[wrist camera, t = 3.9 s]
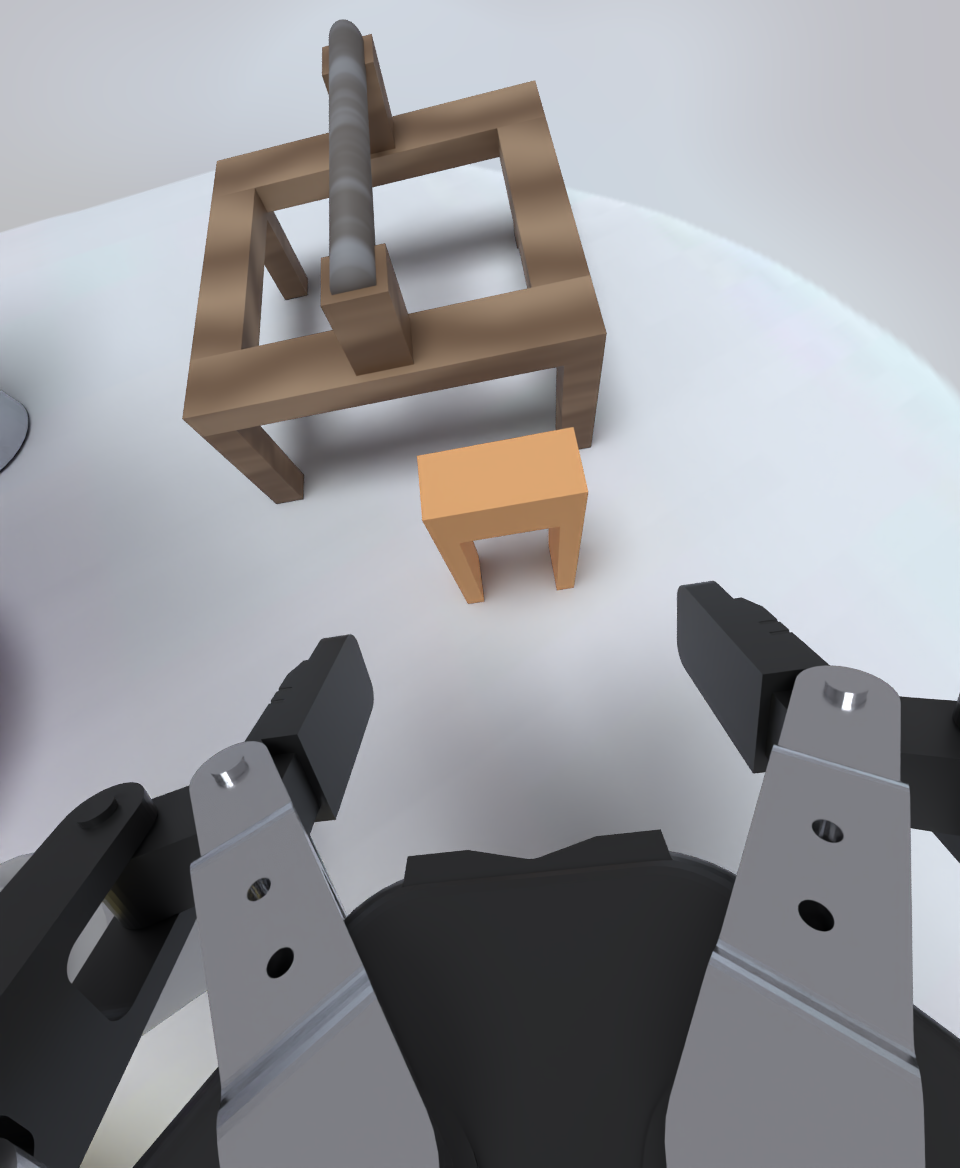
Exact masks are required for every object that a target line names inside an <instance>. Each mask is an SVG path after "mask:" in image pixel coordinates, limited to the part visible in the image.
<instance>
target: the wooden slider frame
mask: <svg viewBox="0 0 960 1168" xmlns="http://www.w3.org/2000/svg"><path fill="white" fill-rule="evenodd" d="M322 77H323V80H324V83H325V85H326V88H327V91H328V94H329V133H326V134H322V135H318V136H314V137H310V138H306V139H302V140H298V141H294V142H290V143H286V144H282V145H279V146H274V147H271V148H267V149H263V150H259V151H255V152H251V153H247V154H243V155H239V156H235V157H231V158H227V159H223V160H219V161H217V164H216V172H215V179H214V187H213V194H212V202H211V209H210V217H209V224H208V232H207V239H206V246H205V254H204V261H203V269H202V276H201V284H200V291H199V299H198V306H197V313H196V321H195V328H194V336H193V343H192V351H191V358H190V366H189V373H188V380H187V388H186V395H185V403H184V410H183V418H182V419H183V420H184V421H185V422H186V423H187V424H189V425H190V426H191V427H192V428H193V429H194V430H195V431H196V432H197V433H198V434H200V435H201V436H202V437H203V438H204V439H205V440H206V441H207V442H208V443H209V444H211V445H212V446H213V447H214V448H215V449H216V450H217V451H218V452H219V453H221V454H222V455H223V456H224V457H225V458H226V459H227V460H228V461H229V462H230V463H232V464H233V465H234V466H235V467H236V468H237V469H238V470H239V471H240V472H242V473H243V474H244V475H245V476H246V477H247V478H248V479H249V480H250V481H251V482H253V483H254V484H255V485H256V486H257V487H258V488H259V489H260V490H261V491H263V492H264V493H265V494H266V495H267V496H268V497H269V498H270V499H271V500H272V501H274V502H275V503H276V504H278V503H284V502H290V501H295V500H301V499H303V487H304V474H303V473H302V472H301V471H300V470H299V469H298V468H297V467H296V465H295V464H294V463H293V462H292V461H291V460H290V459H289V458H288V456H287V455H286V454H285V453H284V452H283V451H282V450H281V449H280V447H279V446H278V445H277V444H276V443H275V442H274V441H273V440H272V438H271V437H270V436H269V435H268V434H267V433H266V432H265V431H264V429H263V428H262V427H261V426H260V425H265V424H270V423H275V422H280V421H285V420H291V419H296V418H301V417H306V416H311V415H316V414H321V413H326V412H331V411H336V410H341V409H346V408H351V407H356V406H362V405H367V404H372V403H377V402H382V401H387V400H392V399H397V398H402V397H407V396H412V395H417V394H422V393H427V392H432V391H438V390H443V389H448V388H453V387H458V386H463V385H468V384H473V383H478V382H483V381H488V380H493V379H498V378H503V377H509V376H514V375H519V374H524V373H529V372H534V371H539V370H544V369H549V368H554V367H557V375H556V424H555V428H556V430H560V429H565V428H571V427H574V432H575V436H576V440H577V445H578V449H583V448H588V447H591V442H592V435H593V428H594V421H595V413H596V406H597V399H598V392H599V384H600V377H601V370H602V363H603V356H604V348H605V341H606V334H607V333H606V329H605V326H604V322H603V319H602V315H601V312H600V308H599V305H598V301H597V298H596V294H595V291H594V287H593V283H592V280H591V276H590V273H589V269H588V266H587V262H586V259H585V255H584V252H583V248H582V245H581V241H580V237H579V234H578V230H577V227H576V223H575V220H574V216H573V213H572V209H571V206H570V202H569V199H568V195H567V192H566V188H565V184H564V181H563V177H562V174H561V170H560V167H559V163H558V160H557V156H556V153H555V149H554V146H553V142H552V138H551V135H550V132H549V128H548V124H547V121H546V118H545V114H544V110H543V107H542V103H541V100H540V96H539V92H538V89H537V85H536V82H535V81H531V82H527V83H523V84H519V85H515V86H511V87H507V88H503V89H499V90H496V91H491V92H487V93H483V94H480V95H476V96H471V97H468V98H464V99H460V100H456V101H452V102H448V103H444V104H440V105H436V106H432V107H428V108H424V109H420V110H416V111H412V112H408V113H404V114H400V115H397V116H393V117H392V114H391V111H390V106H389V102H388V98H387V94H386V90H385V86H384V82H383V78H382V74H381V70H380V66H379V62H378V58H377V54H376V50H375V46H374V42H373V37H372V34H370V35H366V36H362V35H361V33H360V31H359V30H358V28H357V27H356V26H355V25H354V24H353V23H352V22H350V21H348V20H338V21H336V22H335V23H334V24H333V25H332V27H331V29H330V33H329V46H325V47H323V48H322ZM496 157H500V161H501V166H502V171H503V176H504V180H505V185H506V190H507V195H508V199H509V204H510V209H511V213H512V218H513V223H514V234H515V239H516V244H517V248H519V251H520V256H521V260H522V265H523V270H524V275H525V279H526V284H527V289H523V290H518V291H514V292H509V293H504V294H500V295H495V296H490V297H485V298H481V299H476V300H471V301H467V302H462V303H457V304H453V305H448V306H443V307H439V308H434V309H429V310H425V311H420V312H415V313H411V314H408V312H407V309H406V306H405V303H404V300H403V297H402V294H401V291H400V288H399V284H398V281H397V278H396V275H395V272H394V269H393V266H392V263H391V260H390V257H389V253H388V250H387V247H386V244H385V243H384V244H380V245H376V246H375V230H374V211H373V193H372V187H376V186H380V185H384V184H388V183H393V182H397V181H401V180H405V179H409V178H413V177H418V176H422V175H426V174H430V173H434V172H438V171H443V170H447V169H451V168H455V167H459V166H463V165H467V164H472V163H476V162H480V161H484V160H488V159H492V158H496ZM326 198H329V256H327V257H323V258H321V308H322V310H323V312H324V314H325V315H326V317H327V319H328V321H329V323H330V325H331V327H332V329H333V330H331V331H326V332H322V333H317V334H312V335H308V336H303V337H298V338H294V339H289V340H284V341H279V342H275V343H270V344H265V345H261V346H259V335H260V320H261V305H262V291H263V276H264V265H265V266H266V268H267V270H268V272H269V273H270V275H271V277H272V278H273V280H274V282H275V283H276V285H277V287H278V289H279V290H280V292H281V294H282V295H283V297H284V299H285V300H287V299H291V298H296V297H300V296H305V295H307V290H308V278H307V276H306V274H305V272H304V270H303V268H302V266H301V264H300V262H299V260H298V258H297V256H296V254H295V253H294V251H293V249H292V247H291V245H290V243H289V241H288V239H287V237H286V235H285V233H284V231H283V229H282V227H281V225H280V223H279V221H278V219H277V217H276V215H275V213H274V211H276V210H280V209H284V208H289V207H293V206H297V205H301V204H305V203H309V202H314V201H318V200H322V199H326Z"/></svg>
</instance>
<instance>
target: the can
mask: <svg viewBox="0 0 960 1168" xmlns="http://www.w3.org/2000/svg"><path fill="white" fill-rule="evenodd" d="M33 854H34V853H31V854H26V855H21V856H18V857H15V858H13V859H11V860H8V861H6V862H4V863H1V864H0V892H1V890H2V889H3V888H4V887H5V886H6V885H7V884H8V882H9V881H10V880H11V879H12V878H13V877H14V876H15V874H16V873H17V872H18V871H19V870H20V869H21V868H22V866H23V865H24V864H25V863H26V862H27V861H28V860H29V858H30V857H31V856H32V855H33ZM113 917H114V915H113V914H112V912H111V911H110V910H109V909H108V908H107V906H106V905H105V904H104V903H103V902H102V903H101V904H100V906H99V907H98V909H97V910H96V912H95V913H94V915H93V916H92V918H91V919H90V921H89V922H88V924H87V925H86V927H85V928H84V930H83V931H82V933H81V934H80V936H79V937H78V939H77V940H76V942H75V944H74V945H73V948H72V950H71V952H70V955H69V959H68V964H67V975H68V979H69V981H70V982H71V984H72V982H73V981H74V979H75V978H76V976H77V974H78V973H79V971H80V970H81V968H82V966H83V965H84V963H85V962H86V960H87V958H88V957H89V955H90V954H91V952H92V950H93V949H94V947H95V946H96V944H97V942H98V941H99V939H100V938H101V936H102V934H103V933H104V931H105V930H106V928H107V926H108V925H109V923H110V922H111V920H112V918H113ZM205 991H207V984H206V977H205V970H204V963H203V956H202V949H201V943H200V936H199V929H198V922H197V919H196V921H195V923H194V925H193V928H192V930H191V932H190V934H189V936H188V938H187V940H186V942H185V945H184V947H183V949H182V951H181V953H180V955H179V957H178V959H177V961H176V964H175V966H174V968H173V970H172V972H171V974H170V976H169V978H168V980H167V983H166V985H165V987H164V989H163V991H162V993H161V995H160V997H159V1000H158V1002H157V1004H156V1006H155V1008H154V1010H153V1012H152V1014H151V1016H150V1019H149V1021H148V1023H147V1025H146V1027H145V1029H144V1031H143V1033H142V1036H143V1035H144V1034H145V1033H147V1032H148V1031H150V1030H151V1029H153V1028H154V1027H155V1026H157V1025H158V1024H160V1023H161V1022H163V1021H164V1020H165V1019H167V1018H168V1017H170V1016H171V1015H173V1014H174V1013H175V1012H177V1011H178V1010H180V1009H181V1008H183V1007H184V1006H185V1005H187V1004H188V1003H190V1002H191V1001H193V1000H194V999H195V998H197V997H198V996H200V995H201V994H203V993H204V992H205Z"/></svg>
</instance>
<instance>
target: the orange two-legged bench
mask: <svg viewBox="0 0 960 1168" xmlns="http://www.w3.org/2000/svg"><path fill="white" fill-rule="evenodd" d="M417 461H418V474H419V486H420V498H421V511H422V521H423V523H424V524H425V526H426V528H427V530H428V532H429V534H430V535H431V537H432V539H433V541H434V543H435V544H436V546H437V548H438V550H439V552H440V554H441V555H442V557H443V559H444V561H445V563H446V565H447V566H448V568H449V570H450V572H451V574H452V575H453V577H454V579H455V581H456V583H457V585H458V586H459V588H460V590H461V592H462V594H463V595H464V597H465V599H466V601H467V603H468V604H471V603H477V602H483V601H484V595H483V587H482V579H481V571H480V563H479V556H478V553H477V550H476V547H475V545H474V542H473V541H475V540H481V539H487V538H493V537H499V536H505V535H511V534H517V533H523V532H529V531H535V530H541V529H547V528H549V550H550V556H551V561H552V566H553V572H554V577H555V583H556V588H557V590H561V589H568V588H574V582H575V575H576V569H577V562H578V556H579V549H580V543H581V536H582V530H583V523H584V516H585V510H586V503H587V497H588V489H587V484H586V480H585V475H584V471H583V467H582V462H581V458H580V454H579V449H578V445H577V440H576V436H575V432H574V427H571V428H565V429H560V430H554V431H549V432H544V433H538V434H533V435H527V436H522V437H517V438H511V439H506V440H500V441H495V442H490V443H484V444H479V445H473V446H468V447H463V448H457V449H452V450H446V451H441V452H436V453H430V454H425V455H419V456H417Z"/></svg>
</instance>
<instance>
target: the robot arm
mask: <svg viewBox="0 0 960 1168" xmlns="http://www.w3.org/2000/svg"><path fill="white" fill-rule="evenodd" d="M27 429H28V416H27V411H26V410H25V408H24V407H23V405H22V404H20V403H19V402H18V401H17V400H15V399H14V398H12V397H10V396H9V395H7V394H6V393H4V392H3V391H1V390H0V470H1V469H2V468H3V467H4V466H5V465H6V464H7V463H8V462H9V461H10V460H11V459H12V458H13V457H14V455H15V454H16V452H17V451H18V450H19V448H20V446H21V444H22V442H23V440H24V438H25V436H26V432H27ZM677 646H678V652H679V656H680V659H681V662H682V664H683V666H684V668H685V670H686V671H687V673H688V674H689V676H690V677H691V679H692V680H693V682H694V684H695V685H696V687H697V688H698V690H699V691H700V693H701V694H702V696H703V697H704V699H705V700H706V702H707V703H708V705H709V707H710V708H711V710H712V711H713V713H714V714H715V716H716V717H717V719H718V720H719V722H720V723H721V725H722V726H723V728H724V730H725V731H726V733H727V734H728V736H729V737H730V739H731V740H732V742H733V743H734V745H735V746H736V748H737V750H738V751H739V753H740V754H741V756H742V757H743V759H744V760H745V762H746V763H747V765H748V766H749V768H750V769H751V771H752V773H762V772H766V773H765V776H764V780H763V783H762V787H761V791H760V794H759V798H758V801H757V805H756V808H755V812H754V816H753V819H752V823H751V826H750V830H749V833H748V837H747V841H746V844H745V848H744V851H743V855H742V858H741V862H740V866H739V869H738V873H737V875H735V874H733V873H732V872H730V871H728V870H725V869H723V868H721V867H719V866H717V865H715V864H713V863H710V862H707V861H705V860H702V859H699V858H696V857H693V856H689V855H685V854H681V853H675V852H669V850H668V848H667V845H666V842H665V840H664V837H663V834H662V832H661V830H652V831H642V832H633V833H624V834H614V835H605V836H596V837H593V838H591V839H588V840H585V841H583V842H580V843H577V844H574V845H572V846H569V847H566V848H564V849H561V850H558V851H556V852H553V853H550V854H548V855H545V856H542V857H539V858H536V859H523V858H517V857H510V856H503V855H497V854H490V853H484V852H477V851H471V850H463V851H454V852H445V853H435V854H426V855H416V856H408V858H407V864H406V870H405V877H404V879H403V880H400V881H398V882H396V883H394V884H392V885H390V886H388V887H386V888H384V889H382V890H380V891H379V892H377V893H376V894H374V895H373V896H371V897H370V898H368V899H367V900H366V901H364V902H363V903H362V904H361V905H359V906H358V907H357V908H356V909H355V910H353V911H352V912H351V913H350V914H349V915H348V916H347V914H346V912H345V910H344V907H343V905H342V903H341V901H340V899H339V897H338V894H337V892H336V890H335V888H334V886H333V884H332V881H331V879H330V877H329V875H328V873H327V870H326V868H325V866H324V864H323V862H322V860H321V857H320V855H319V853H318V851H317V849H316V847H315V844H314V842H313V840H312V838H311V836H310V832H311V830H312V827H313V824H314V822H320V821H328V820H336V817H337V814H338V811H339V808H340V805H341V802H342V799H343V796H344V793H345V790H346V787H347V784H348V781H349V778H350V775H351V772H352V769H353V766H354V763H355V760H356V757H357V754H358V751H359V748H360V745H361V742H362V739H363V736H364V733H365V730H366V726H367V723H368V720H369V717H370V714H371V711H372V708H373V701H374V696H373V687H372V683H371V680H370V677H369V674H368V671H367V668H366V666H365V663H364V660H363V657H362V654H361V651H360V648H359V645H358V642H357V640H356V638H355V637H354V636H353V635H351V634H350V635H343V636H336V637H330V638H323V639H321V640H320V642H319V643H318V645H317V647H316V648H315V650H314V652H313V653H312V655H311V657H310V658H309V660H305V661H303V662H302V663H300V664H299V665H298V666H297V667H296V668H295V669H293V670H292V671H291V672H290V673H289V674H288V675H287V676H286V678H285V679H284V681H283V683H282V684H281V686H280V687H279V691H278V692H276V693H275V695H274V697H273V698H272V700H271V704H268V706H267V708H266V709H265V711H264V712H263V714H262V715H261V717H260V718H259V720H258V722H257V723H256V725H255V726H254V728H253V729H252V731H251V732H250V734H249V736H248V737H247V739H246V740H245V742H242V743H238V744H235V745H233V746H230V747H228V748H226V749H224V750H222V751H220V752H218V753H217V754H215V755H214V756H212V757H211V758H210V759H209V760H207V761H206V762H205V763H204V764H203V765H202V766H201V767H200V768H199V769H198V770H197V771H196V773H195V774H194V776H193V778H192V780H191V782H190V786H187V787H184V788H181V789H179V790H176V791H173V792H170V793H167V794H165V795H162V796H159V797H156V798H154V799H151V798H150V797H149V795H148V794H147V792H146V791H145V789H144V788H143V786H142V785H140V784H139V783H134V782H129V783H123V784H118V785H115V786H112V787H110V788H108V789H105V790H103V791H101V792H99V793H97V794H96V795H94V796H92V797H90V798H89V799H87V800H86V801H84V802H83V803H82V804H80V805H79V806H78V807H76V808H75V809H74V810H73V811H72V812H71V813H70V814H68V815H67V816H66V818H65V819H64V820H63V821H62V822H61V823H60V824H59V825H58V826H57V828H56V829H55V830H54V831H53V832H52V833H51V834H50V836H49V837H48V838H47V839H46V840H45V841H44V842H43V844H42V845H41V846H40V847H39V848H38V849H37V850H36V852H35V853H34V854H33V855H32V856H31V857H30V858H29V860H28V861H27V862H26V863H25V864H24V865H23V866H22V868H21V869H20V870H19V871H18V872H17V873H16V874H15V876H14V877H13V878H12V879H11V880H10V881H9V882H8V884H7V885H6V886H5V887H4V888H3V889H2V890H1V892H0V1168H79V1167H80V1165H81V1163H82V1160H83V1158H84V1156H85V1154H86V1152H87V1150H88V1148H89V1146H90V1143H91V1141H92V1139H93V1137H94V1135H95V1133H96V1131H97V1129H98V1127H99V1124H100V1122H101V1120H102V1118H103V1116H104V1114H105V1112H106V1110H107V1107H108V1105H109V1103H110V1101H111V1099H112V1097H113V1095H114V1093H115V1091H116V1088H117V1086H118V1084H119V1082H120V1080H121V1078H122V1076H123V1074H124V1072H125V1069H126V1067H127V1065H128V1063H129V1061H130V1059H131V1057H132V1055H133V1052H134V1050H135V1048H136V1046H137V1044H138V1042H139V1040H140V1038H141V1036H142V1033H143V1031H144V1029H145V1027H146V1025H147V1023H148V1021H149V1019H150V1016H151V1014H152V1012H153V1010H154V1008H155V1006H156V1004H157V1002H158V1000H159V997H160V995H161V993H162V991H163V989H164V987H165V985H166V983H167V980H168V978H169V976H170V974H171V972H172V970H173V968H174V966H175V964H176V961H177V959H178V957H179V955H180V953H181V951H182V949H183V947H184V945H185V942H186V940H187V938H188V936H189V934H190V932H191V930H192V928H193V925H194V923H195V921H196V919H197V922H198V929H199V936H200V943H201V949H202V956H203V963H204V970H205V977H206V984H207V991H208V997H209V1004H210V1011H211V1018H212V1025H213V1032H214V1039H215V1045H216V1052H217V1059H218V1068H217V1069H216V1070H215V1071H214V1072H213V1073H212V1075H211V1076H210V1077H209V1078H208V1079H207V1081H206V1082H205V1083H204V1084H203V1085H202V1086H201V1088H200V1089H199V1090H198V1091H197V1092H196V1094H195V1095H194V1096H193V1097H192V1098H191V1099H190V1101H189V1102H188V1103H187V1104H186V1105H185V1106H184V1108H183V1109H182V1110H181V1111H180V1112H179V1114H178V1115H177V1116H176V1117H175V1118H174V1119H173V1121H172V1122H171V1123H170V1124H169V1125H168V1126H167V1128H166V1129H165V1130H164V1131H163V1132H162V1134H161V1135H160V1136H159V1137H158V1138H157V1139H156V1141H155V1142H154V1143H153V1144H152V1145H151V1146H150V1148H149V1149H148V1150H147V1151H146V1152H145V1153H144V1155H143V1156H142V1157H141V1158H140V1159H139V1161H138V1162H137V1163H136V1164H135V1165H134V1166H133V1168H960V1039H959V1038H958V1037H956V1036H955V1035H954V1034H952V1033H951V1032H950V1031H948V1030H947V1029H946V1028H944V1027H943V1026H942V1025H940V1024H939V1023H938V1022H936V1021H935V1020H934V1019H932V1018H931V1017H930V1016H928V1015H927V1014H925V1013H924V1012H923V1011H921V1010H920V1009H919V1008H917V1007H916V1006H915V1005H913V970H912V899H911V828H913V829H919V830H925V831H932V832H933V833H934V834H935V836H936V837H937V838H938V839H939V840H940V841H941V842H942V844H943V845H944V846H945V847H946V848H947V849H948V850H949V852H950V853H951V854H952V855H953V856H954V857H955V858H956V860H957V861H958V862H959V863H960V694H959V697H958V700H957V701H951V700H938V699H924V698H911V697H901V696H899V695H898V693H897V692H896V691H895V690H894V689H893V688H892V687H891V686H890V685H889V684H888V683H886V682H884V681H883V680H881V679H880V678H878V677H876V676H874V675H871V674H869V673H866V672H863V671H860V670H857V669H853V668H848V667H842V666H830V665H829V664H828V663H826V662H825V661H824V660H823V659H822V658H821V657H820V656H818V655H817V654H816V653H815V652H814V651H813V650H812V649H810V648H809V647H808V646H807V645H806V644H805V643H804V642H803V641H801V640H800V639H799V638H798V637H797V636H796V635H795V634H793V633H792V632H791V633H790V632H789V629H788V628H787V627H785V626H784V625H783V624H782V623H781V622H778V621H777V619H776V618H775V617H774V616H773V615H772V614H771V613H769V612H768V611H767V610H766V609H765V608H764V607H762V606H760V605H758V604H755V603H753V602H751V601H748V600H746V599H744V598H735V599H733V598H732V597H731V596H730V595H729V594H728V593H727V592H726V591H725V590H724V589H723V588H722V587H721V586H720V585H719V584H718V583H716V582H715V581H708V582H701V583H695V584H688V585H681V586H680V587H679V588H678V592H677ZM102 902H103V903H104V904H105V905H106V906H107V908H108V909H109V910H110V911H111V912H112V914H113V915H114V917H113V918H112V920H111V922H110V923H109V925H108V926H107V928H106V930H105V931H104V933H103V934H102V936H101V938H100V939H99V941H98V942H97V944H96V946H95V947H94V949H93V950H92V952H91V954H90V955H89V957H88V958H87V960H86V962H85V963H84V965H83V966H82V968H81V970H80V971H79V973H78V974H77V976H76V978H75V979H74V981H73V982H72V984H71V982H70V981H69V979H68V975H67V964H68V959H69V955H70V952H71V950H72V948H73V945H74V944H75V942H76V940H77V939H78V937H79V936H80V934H81V933H82V931H83V930H84V928H85V927H86V925H87V924H88V922H89V921H90V919H91V918H92V916H93V915H94V913H95V912H96V910H97V909H98V907H99V906H100V904H101V903H102Z"/></svg>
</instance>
